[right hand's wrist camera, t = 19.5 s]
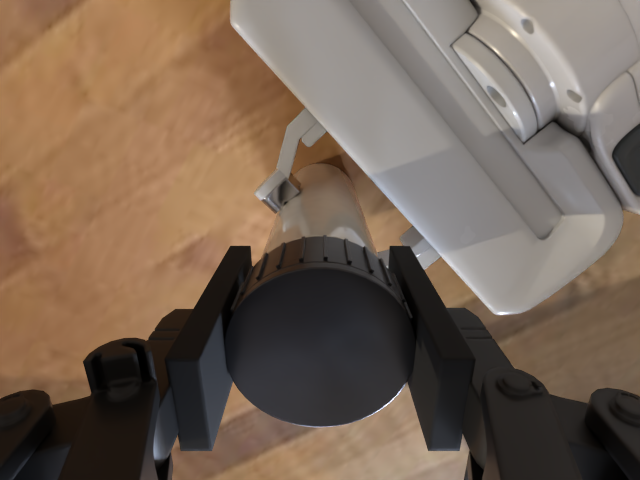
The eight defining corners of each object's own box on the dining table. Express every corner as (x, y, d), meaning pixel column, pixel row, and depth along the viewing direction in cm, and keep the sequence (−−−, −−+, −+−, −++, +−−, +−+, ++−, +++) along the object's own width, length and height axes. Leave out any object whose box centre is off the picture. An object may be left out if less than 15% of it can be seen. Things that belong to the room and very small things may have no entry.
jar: (339, 151, 25) (366, 235, 10) (365, 215, 27) (422, 369, 12) (273, 180, 26) (209, 298, 11) (302, 241, 27) (282, 416, 12)
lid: (239, 373, 14) (224, 425, 11) (235, 228, 12) (216, 259, 9) (392, 380, 14) (405, 433, 11) (413, 237, 12) (433, 269, 10)
